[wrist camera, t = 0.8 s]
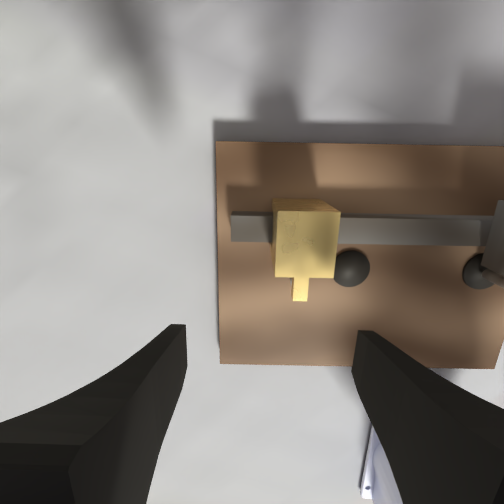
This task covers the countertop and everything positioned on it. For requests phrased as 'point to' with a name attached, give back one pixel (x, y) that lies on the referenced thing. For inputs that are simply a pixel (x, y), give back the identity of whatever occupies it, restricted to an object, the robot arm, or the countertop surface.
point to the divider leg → (303, 242)
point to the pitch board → (365, 252)
